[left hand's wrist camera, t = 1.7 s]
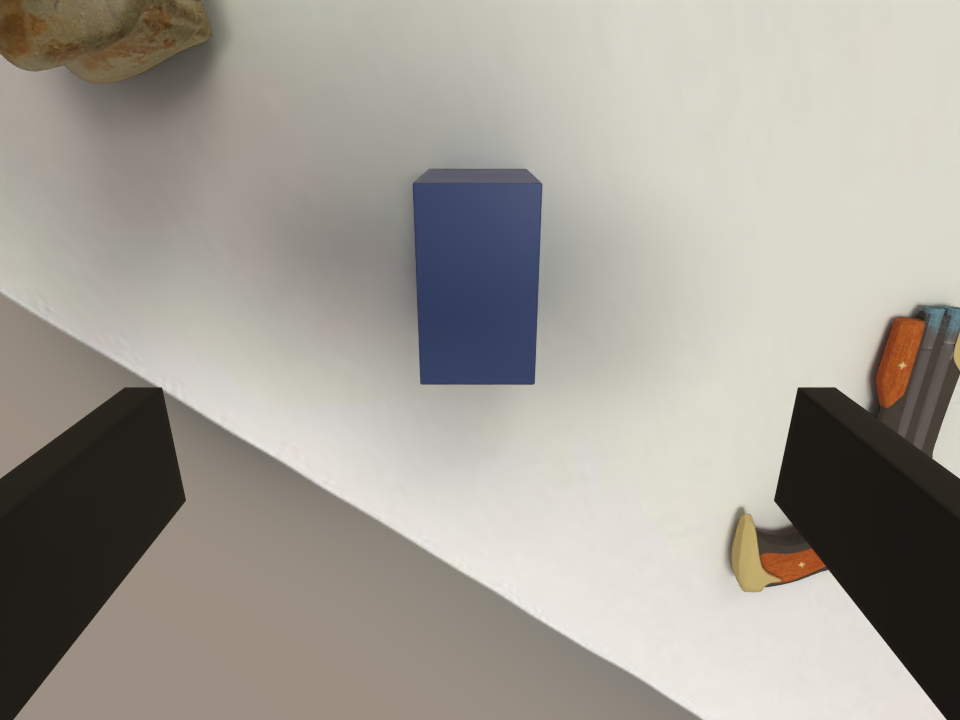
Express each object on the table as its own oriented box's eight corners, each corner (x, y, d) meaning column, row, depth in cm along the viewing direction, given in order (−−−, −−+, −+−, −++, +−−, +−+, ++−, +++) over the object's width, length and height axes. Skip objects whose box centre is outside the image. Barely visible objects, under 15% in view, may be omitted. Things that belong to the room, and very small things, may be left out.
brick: (522, 328, 33) (534, 385, 26) (433, 328, 33) (420, 385, 26) (527, 168, 30) (542, 183, 23) (428, 168, 30) (412, 182, 23)
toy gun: (732, 600, 37) (902, 622, 36) (803, 298, 31) (1007, 316, 30) (720, 573, 39) (879, 593, 39) (784, 289, 34) (971, 305, 33)
